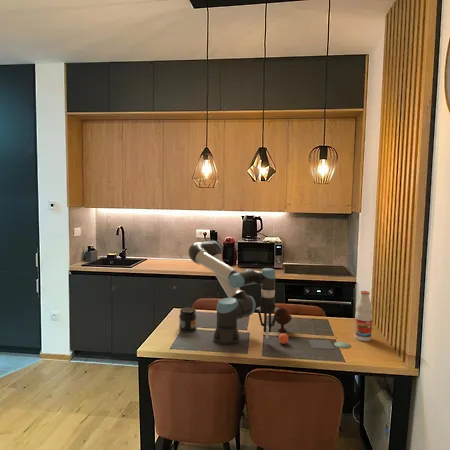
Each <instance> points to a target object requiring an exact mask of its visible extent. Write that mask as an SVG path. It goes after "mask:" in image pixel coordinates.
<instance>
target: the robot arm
mask: <svg viewBox="0 0 450 450" xmlns="http://www.w3.org/2000/svg"><path fill="white" fill-rule="evenodd" d="M222 250H223V249H222V245H221V244H220V243H219V242H218V241H216V240H206V241H196V242H194V243H192V244H191V245H190V246H189V248H188V256H189V258H190V260H191V261H192V262H193V263H195V264H197V265H198V266H199V265H200V266H204V267H205V268H207V269H208V270H210V271H212V272H213V274H214V276H215V278H217V281H218V283H220V286H221V287H222V289H223V290H224V292H225V294H226V296H227V297H224V298H221V299H219V300H218V301H217V303H216V328H215V331H214V333H213V336H212V341H213V342H214V343H215V344H218V345H219V346H220V345H221V346H235V345H237V344H239V343H240V342H241V340H240V339H241V337H240V333H239V329H238V321H239V320H240V319H241V320H242V319H243V318H248V317H249V316H251V315H253V314H254V313H255V311H256V312H257V314H258V318H259V322H260V326H261V327H263V332H264V333H265V339H266V340H269V339H270V337H269V336H270V333H271V332H272V331H271V329H272V327H274V326H275V324H276V317H277V314H278V312H279V309H278V308H279V307H276V304H275V303H276V302H275V301H276V296H275V295H276V278H277V277H276V270H275V269H274V268H271V267H270V268H269V267H264V268H262V269H261V270H257V269H256V270H255V269H252V268H251V269H250V268H246V269H245V270H244V271H239V270H237V269H236V268H234V267H232V266H230V265H229V264H226V263H225V262H224V260H223V259H222V258H223V255H222V254H223V251H222ZM249 285H260V286H261V294H260V295H261V298H260V305H259V307H257V306H256V301H255V299H254V297H253V296H251V295H249V294H248V295H247V293H246V292H245V290H241V287H246V286H249ZM261 311H262V312H263V318H262V313H261ZM273 312H274V313H273ZM272 313H273V317H272ZM267 316H268V317H267ZM267 318H268V325H267Z"/></svg>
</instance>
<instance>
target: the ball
mask: <svg viewBox="0 0 450 450" xmlns="http://www.w3.org/2000/svg"><path fill="white" fill-rule="evenodd" d="M278 340H279V341H278V342H279V343H280V344H283V345H284V344H285V345H286V344H287V343H288V342H289V336H288V334H286V333H280V334H279V336H278Z"/></svg>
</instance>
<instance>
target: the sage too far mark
mask: <svg viewBox="0 0 450 450" xmlns="http://www.w3.org/2000/svg"><path fill="white" fill-rule="evenodd" d="M333 345H334V346H335V347H337V348H340V349H349V348H351V347H352V345H351V344H350V343H348V342H345V341H336V342H334V343H333Z"/></svg>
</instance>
